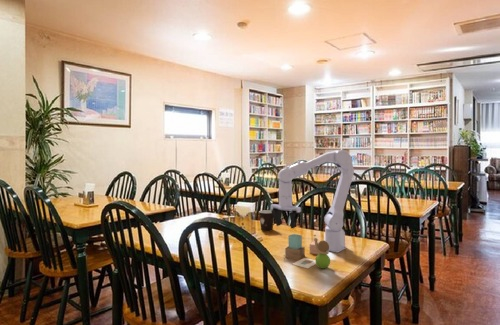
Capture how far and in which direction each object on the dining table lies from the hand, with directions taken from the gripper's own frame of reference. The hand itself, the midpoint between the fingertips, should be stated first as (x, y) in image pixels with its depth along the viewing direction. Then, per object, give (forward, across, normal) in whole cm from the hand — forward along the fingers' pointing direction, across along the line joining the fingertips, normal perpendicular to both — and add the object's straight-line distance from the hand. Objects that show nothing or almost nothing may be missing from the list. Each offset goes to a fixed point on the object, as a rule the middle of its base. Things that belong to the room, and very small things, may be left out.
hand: (285, 226), depth 150 cm
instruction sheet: (+10, +16, -10) cm, 21 cm away
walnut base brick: (+11, +8, -5) cm, 14 cm away
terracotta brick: (+10, +12, +5) cm, 17 cm away
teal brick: (+7, +8, -5) cm, 12 cm away
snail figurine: (+11, +23, -10) cm, 27 cm away
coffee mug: (+11, -28, +24) cm, 38 cm away
